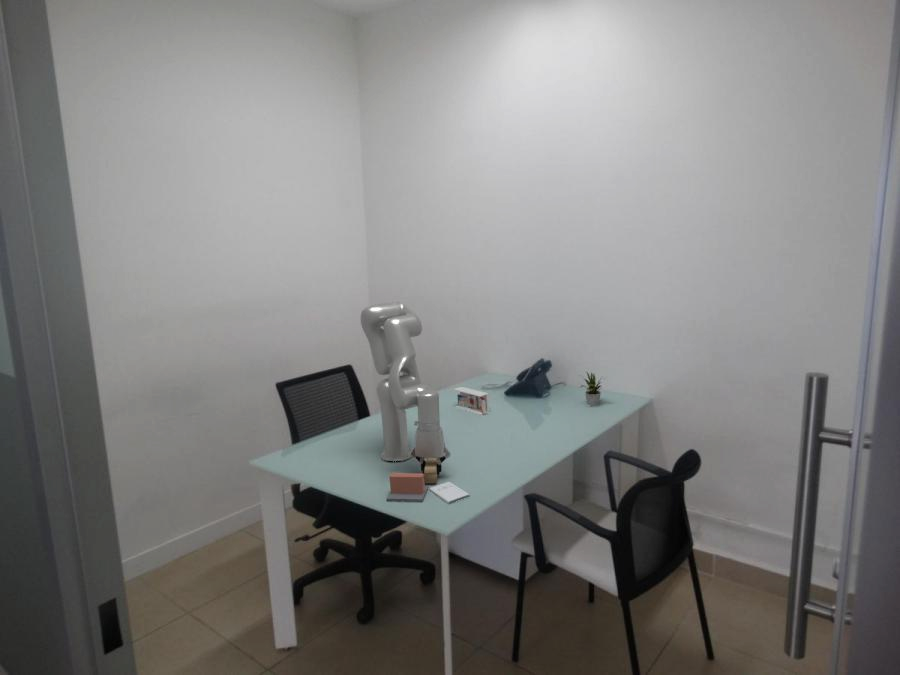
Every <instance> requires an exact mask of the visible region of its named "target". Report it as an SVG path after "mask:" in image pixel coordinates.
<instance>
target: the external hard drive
mask: <svg viewBox="0 0 900 675" xmlns="http://www.w3.org/2000/svg"><path fill="white" fill-rule="evenodd" d="M429 490H430V491H429ZM428 491H429V492H431V493H432V494H433V493H434V494H433V495H434V496H436V497H438V498H439V499H441V500H442V501H444V503H446V504H447V505H451V504H454V503H456V501H457V502H459V501H458V500H460V501H462V500H461V499H463V500H465V499H464V498H466V499H468V498H467V497H469V498H471V497H470V496H471V495H470V494H469V493H468V492H466V491H465V490H463V489H461V488H460V487H458V486H457V485H456V484H453V483H452V482H450V481H446V482H443V483H441V484H437V485H434V486H431V487H430V488H429V489H428Z"/></svg>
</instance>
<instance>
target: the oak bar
mask: <svg viewBox="0 0 900 675" xmlns="http://www.w3.org/2000/svg"><path fill="white" fill-rule="evenodd" d="M425 461H426V463H425V470H424V484H437V480H438V479H437V478H438V475H437V467H436V465H437V459H436V458H425Z"/></svg>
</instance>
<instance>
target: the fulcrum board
mask: <svg viewBox="0 0 900 675" xmlns="http://www.w3.org/2000/svg"><path fill="white" fill-rule="evenodd" d="M389 486H390V492H389V494H388V495H387V497H386V502H392V501H404V502H405V503H424V499H425V498H426V495H427V493H428V491H429V489H428V488H429V487H430V486H429V485H425V480H424V474H423V473H420V472H419V473H412V472H410V473H407V472H406V473H405V472H391V474H390V475H389ZM404 502H403V503H404Z"/></svg>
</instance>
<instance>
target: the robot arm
mask: <svg viewBox="0 0 900 675" xmlns="http://www.w3.org/2000/svg"><path fill="white" fill-rule="evenodd" d="M360 325H361V328H362V331H363V333H364V335H365V336H366V338H367V342H368V344H369V348H370V353H371V356H372V361H373V363H374V364H373V365H374V367H375V371H376V373H378V375H380V376H387V375H388V378H384V379H381V380H380V381H379V383H378V384H377V386H376V395H377V398H378V402H379V406H380V407H379V408H380V415H381V425H382V426H381V428H382V436H383V437H382V438H383V451H381V454H380V458H382V459H383V460H382V459H381V460H382V461H384V460H386V461H385V462H387V461H393V462H392V463H397V462H396V461H401V462H404V460H405V461H407V459H408V460H410V459H411V458H412V457H413V458H414V459H415V460H417V461H418V463H419V464H420V471H421V472H422V474H424V470H425V463H426V458H436V459H437V465H436V467H437V476H439V475H440V473H441V472H442V469H443V468H442V467H443V466H442V464H443V462H444V461H445V460H447V459H448V458H450V457H451V452H450V451H449V449H448V448H447V447H446V443H445V436H444V435H445V434H444V431H443V427H442V426H441V418H440V415H441V414H440V394H439V392H438V391H437V390H435V389H432V388H431V387H430V386H429V385H428V384H426V383H421V378H420V374H419V370H418V366H417V362H416V359H415V358H416V356H417V355H416V351H415V348H414V345H413V342H412V338H414V337H418V336H420V335H421V333H422V331H423V324H422V321H421V320H420V318H419V316H418V315H417V314H416V313H415V312H414V311H413V310H412V309H411V307H409V306H407V305H406V304H405V303H403V302H400V301H393V302H386V303H377V304H373V305H368V306H366V307H365V308H363V310H362V311H361V313H360ZM416 407H417V420H416V421H414V422H413V425H414V426H416V427H417V428H416V430H415V438H414V439H415V441H414V448H413V449H411V448H410V447H409V434H408V423H407V422H408V420H407V412H406V410H408V409H412V408H416ZM409 458H410V459H409ZM394 461H395V462H394Z"/></svg>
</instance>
